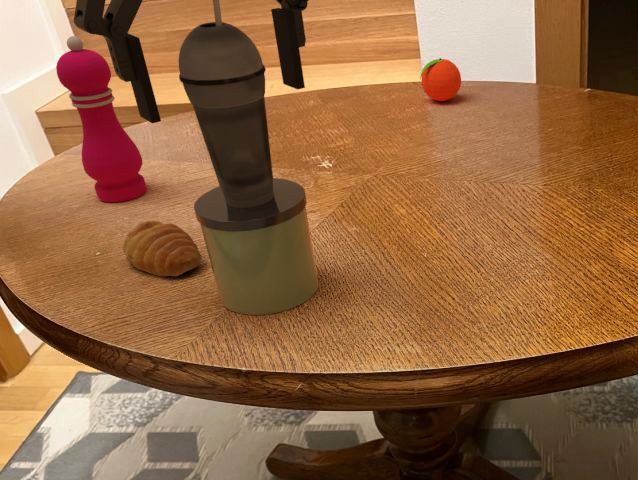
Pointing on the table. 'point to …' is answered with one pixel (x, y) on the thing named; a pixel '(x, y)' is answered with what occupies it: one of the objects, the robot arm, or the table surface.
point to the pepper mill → (100, 125)
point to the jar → (260, 250)
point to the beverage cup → (230, 108)
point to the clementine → (441, 79)
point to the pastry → (161, 249)
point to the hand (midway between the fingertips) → (226, 102)
